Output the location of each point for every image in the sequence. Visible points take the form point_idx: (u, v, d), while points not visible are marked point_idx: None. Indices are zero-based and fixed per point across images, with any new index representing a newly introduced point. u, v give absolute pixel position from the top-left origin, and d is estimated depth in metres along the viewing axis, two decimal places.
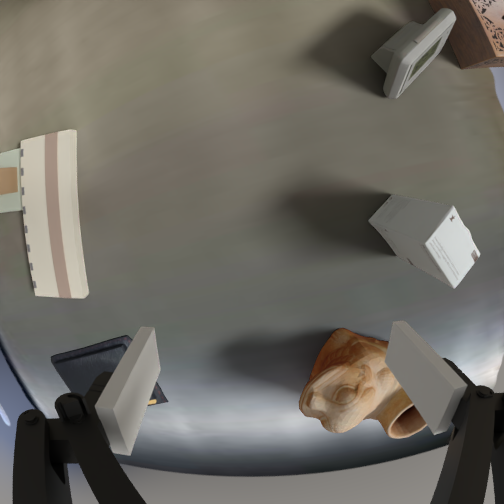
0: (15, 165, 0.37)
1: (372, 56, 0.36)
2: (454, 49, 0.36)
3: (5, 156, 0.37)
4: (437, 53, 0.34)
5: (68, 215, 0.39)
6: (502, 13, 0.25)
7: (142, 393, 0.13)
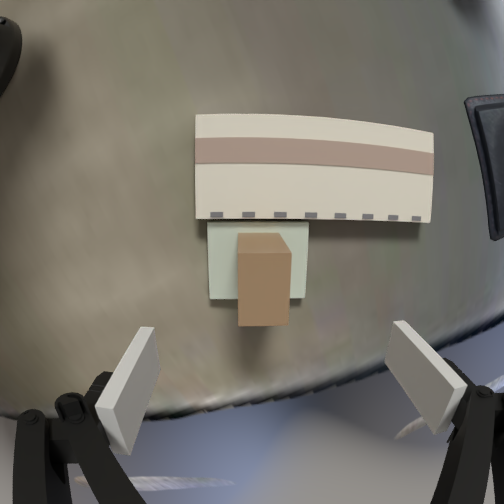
0: (234, 236, 0.31)
1: None
2: None
3: (216, 261, 0.32)
4: None
5: (326, 124, 0.28)
6: None
7: (142, 393, 0.13)
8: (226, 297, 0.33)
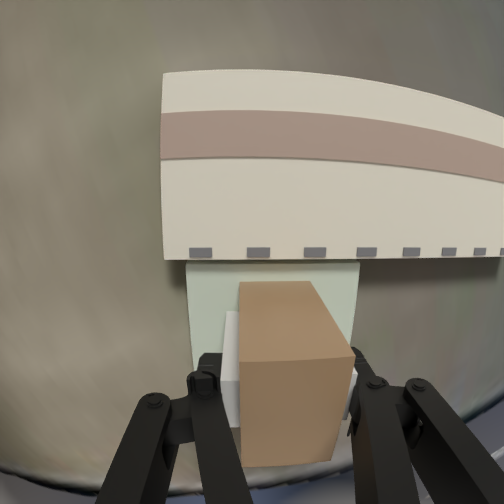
0: (233, 288, 0.18)
1: None
2: None
3: (202, 327, 0.18)
4: None
5: (392, 96, 0.15)
6: None
7: None
8: None
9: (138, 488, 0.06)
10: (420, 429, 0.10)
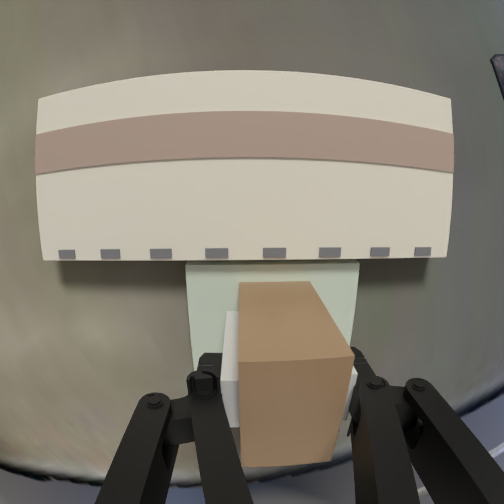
0: (233, 289, 0.18)
1: None
2: None
3: (202, 328, 0.18)
4: None
5: (243, 83, 0.14)
6: None
7: None
8: None
9: (138, 488, 0.06)
10: (420, 429, 0.10)
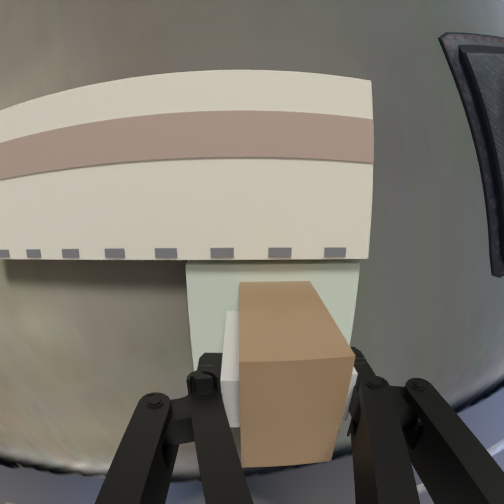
0: (233, 288, 0.18)
1: None
2: None
3: (202, 328, 0.18)
4: None
5: (135, 89, 0.14)
6: None
7: None
8: None
9: (138, 488, 0.06)
10: (420, 429, 0.10)
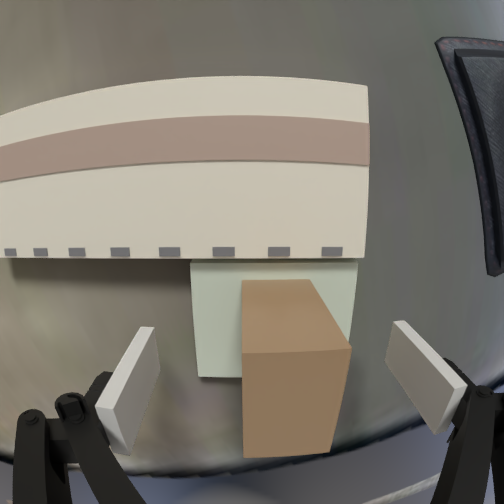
0: (236, 286, 0.18)
1: None
2: None
3: (206, 324, 0.19)
4: None
5: (140, 94, 0.15)
6: None
7: (143, 393, 0.13)
8: (224, 375, 0.20)
9: None
10: None
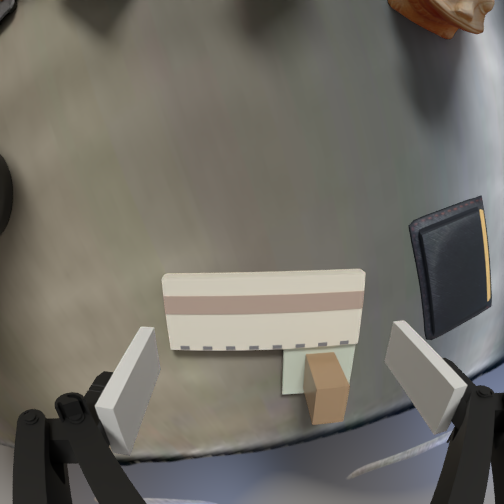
0: (303, 356, 0.41)
1: None
2: None
3: (288, 372, 0.41)
4: None
5: (264, 282, 0.37)
6: None
7: (142, 393, 0.13)
8: (294, 392, 0.42)
9: None
10: None
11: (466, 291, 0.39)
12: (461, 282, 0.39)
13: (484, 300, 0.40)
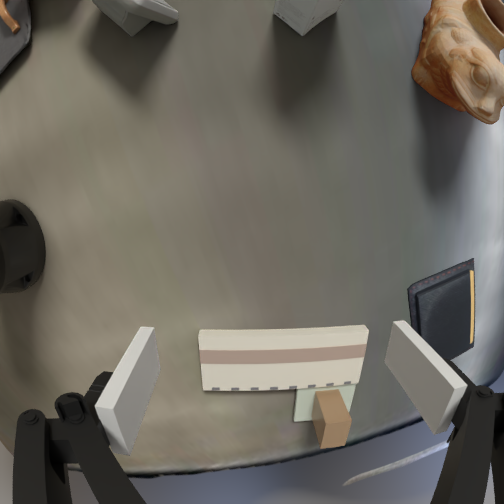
0: (313, 393, 0.47)
1: (132, 34, 0.33)
2: None
3: (300, 405, 0.48)
4: None
5: (286, 340, 0.43)
6: None
7: (142, 393, 0.13)
8: (303, 420, 0.49)
9: None
10: None
11: (452, 338, 0.46)
12: (448, 331, 0.46)
13: (467, 343, 0.47)
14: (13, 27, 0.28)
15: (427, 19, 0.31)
